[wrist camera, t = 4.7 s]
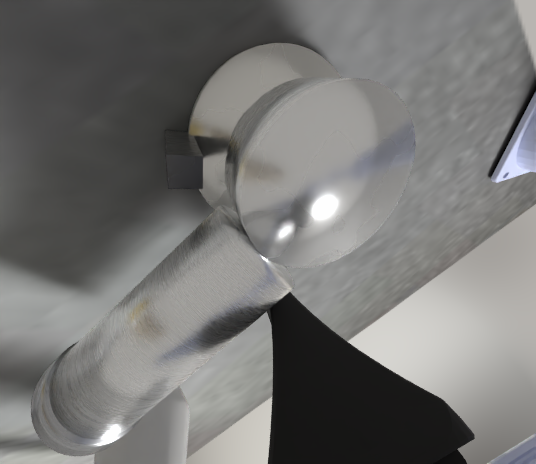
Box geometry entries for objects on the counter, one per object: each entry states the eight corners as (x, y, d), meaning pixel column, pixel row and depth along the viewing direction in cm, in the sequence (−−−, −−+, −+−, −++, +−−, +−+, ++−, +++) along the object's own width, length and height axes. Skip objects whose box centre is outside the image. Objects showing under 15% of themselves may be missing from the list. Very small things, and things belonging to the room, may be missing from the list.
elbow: (321, 28, 7) (446, -7, 4) (378, 166, 11) (464, 204, 8) (26, 330, 9) (-47, 466, 6) (161, 358, 13) (160, 449, 10)
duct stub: (356, 35, 10) (431, 21, 7) (339, 202, 14) (379, 232, 12) (132, 58, 8) (114, 50, 5) (198, 243, 12) (208, 291, 10)
